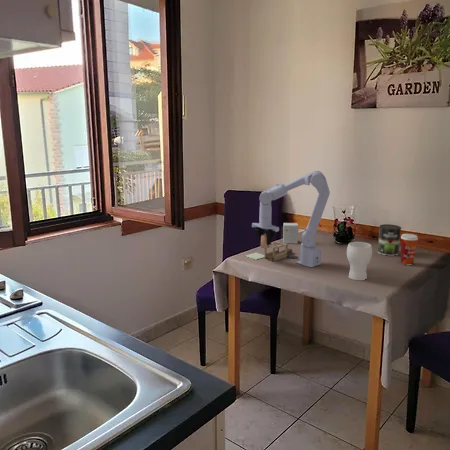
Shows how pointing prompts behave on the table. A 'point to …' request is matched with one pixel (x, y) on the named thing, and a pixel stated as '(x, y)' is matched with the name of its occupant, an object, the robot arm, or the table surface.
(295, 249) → the table surface
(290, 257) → the mat
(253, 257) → the pad
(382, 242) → the coffee can
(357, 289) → the table surface
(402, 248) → the paper cup
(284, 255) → the wooden ladder stand
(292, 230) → the small box
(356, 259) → the cup
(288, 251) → the rod
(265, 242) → the cylinder
